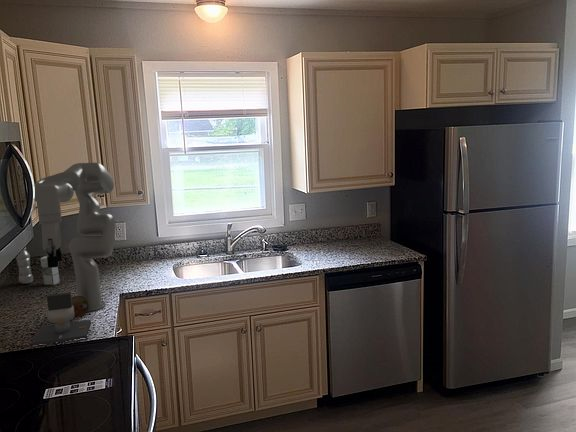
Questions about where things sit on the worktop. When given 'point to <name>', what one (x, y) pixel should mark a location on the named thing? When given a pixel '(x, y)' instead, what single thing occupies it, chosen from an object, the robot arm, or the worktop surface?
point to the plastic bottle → (24, 267)
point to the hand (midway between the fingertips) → (55, 264)
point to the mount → (62, 332)
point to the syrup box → (49, 273)
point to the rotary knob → (60, 307)
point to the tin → (80, 305)
